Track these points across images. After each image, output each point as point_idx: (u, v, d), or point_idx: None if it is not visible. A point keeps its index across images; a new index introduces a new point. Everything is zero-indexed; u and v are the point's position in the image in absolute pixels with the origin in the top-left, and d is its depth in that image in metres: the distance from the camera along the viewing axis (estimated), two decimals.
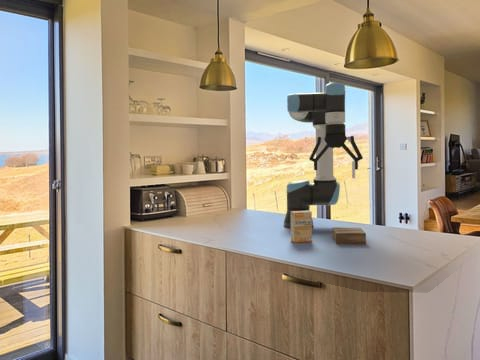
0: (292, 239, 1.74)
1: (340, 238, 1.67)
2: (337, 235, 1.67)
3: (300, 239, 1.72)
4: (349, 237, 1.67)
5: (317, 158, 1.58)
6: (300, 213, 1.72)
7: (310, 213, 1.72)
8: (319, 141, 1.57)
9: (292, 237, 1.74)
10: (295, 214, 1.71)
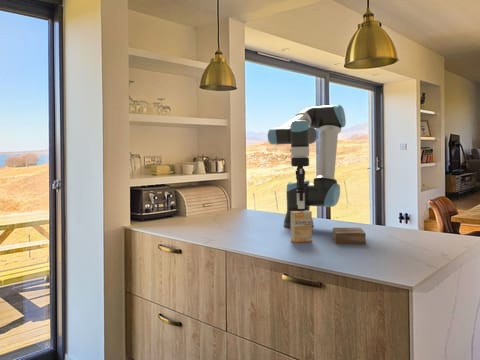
0: (292, 239, 1.74)
1: (340, 238, 1.67)
2: (337, 235, 1.67)
3: (300, 239, 1.72)
4: (348, 237, 1.67)
5: (297, 186, 1.80)
6: (300, 213, 1.72)
7: (310, 213, 1.72)
8: None
9: (292, 237, 1.74)
10: (295, 214, 1.71)
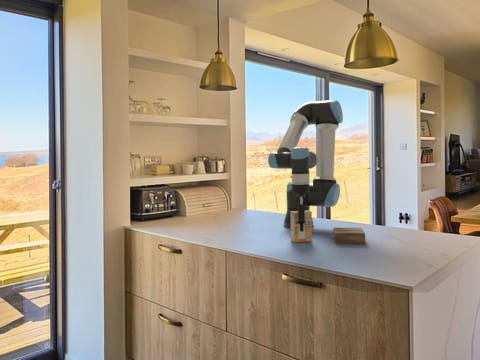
0: (292, 239, 1.74)
1: (340, 238, 1.67)
2: (336, 235, 1.67)
3: (300, 239, 1.72)
4: (348, 237, 1.67)
5: None
6: None
7: (310, 213, 1.72)
8: None
9: (292, 237, 1.74)
10: (295, 214, 1.71)
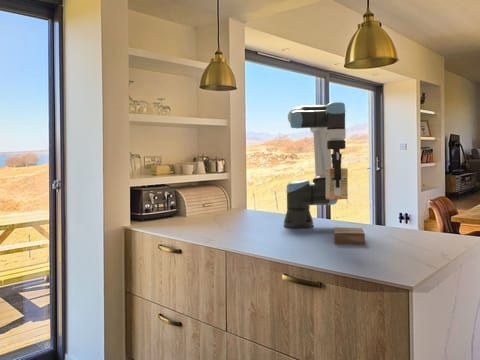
0: (327, 197, 1.71)
1: (339, 238, 1.68)
2: (336, 235, 1.68)
3: (335, 197, 1.69)
4: (347, 237, 1.67)
5: None
6: None
7: (346, 170, 1.69)
8: None
9: (327, 194, 1.71)
10: (331, 170, 1.68)
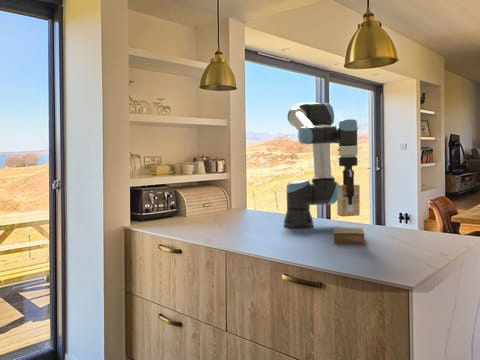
0: (339, 213, 1.71)
1: (339, 238, 1.68)
2: (335, 235, 1.68)
3: (347, 213, 1.69)
4: (347, 237, 1.67)
5: None
6: None
7: (358, 186, 1.69)
8: None
9: (339, 211, 1.71)
10: (343, 187, 1.68)
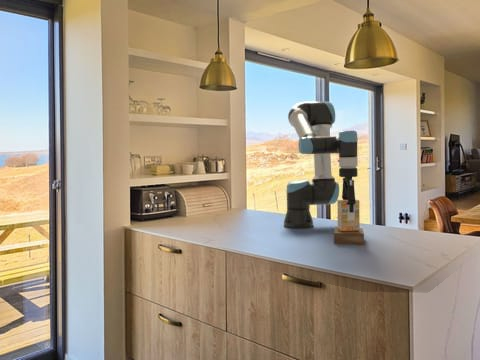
0: (339, 228, 1.72)
1: (338, 238, 1.68)
2: (335, 235, 1.68)
3: (347, 228, 1.70)
4: (347, 237, 1.67)
5: (343, 196, 1.78)
6: (347, 201, 1.69)
7: (358, 202, 1.70)
8: None
9: (339, 226, 1.72)
10: (342, 202, 1.69)
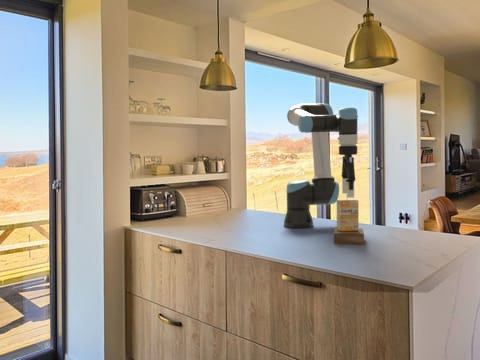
0: (338, 228, 1.72)
1: (338, 238, 1.68)
2: (335, 235, 1.68)
3: (346, 228, 1.70)
4: (347, 237, 1.67)
5: (342, 175, 1.78)
6: (346, 201, 1.70)
7: (357, 202, 1.70)
8: None
9: (338, 226, 1.72)
10: (341, 202, 1.70)
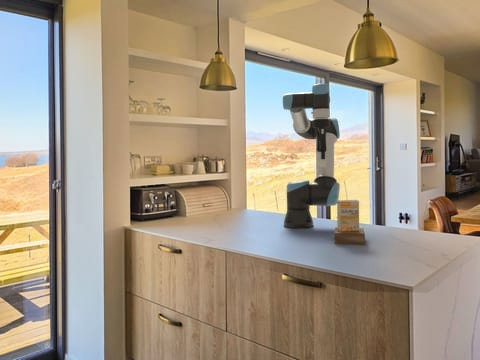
0: (338, 228, 1.72)
1: (339, 238, 1.68)
2: (336, 235, 1.68)
3: (346, 229, 1.70)
4: (347, 237, 1.67)
5: (317, 148, 1.90)
6: (347, 202, 1.69)
7: (357, 202, 1.69)
8: None
9: (338, 226, 1.71)
10: (341, 203, 1.68)
